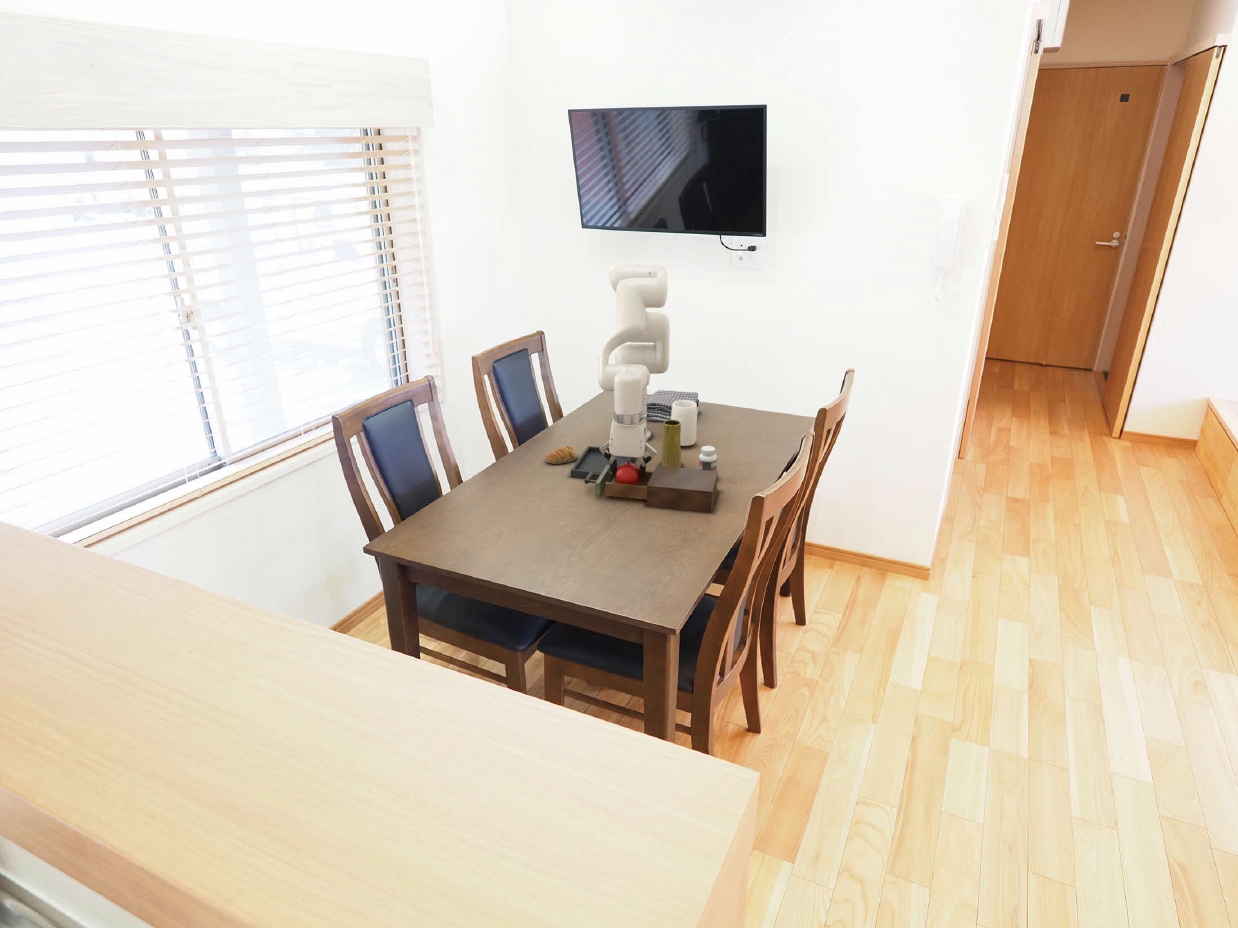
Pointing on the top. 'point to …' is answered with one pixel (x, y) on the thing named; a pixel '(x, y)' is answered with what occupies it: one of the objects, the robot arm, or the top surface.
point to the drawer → (619, 485)
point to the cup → (686, 420)
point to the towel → (667, 403)
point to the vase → (671, 444)
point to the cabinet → (682, 489)
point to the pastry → (562, 455)
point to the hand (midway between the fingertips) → (628, 475)
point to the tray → (595, 463)
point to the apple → (627, 474)
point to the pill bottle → (707, 459)
